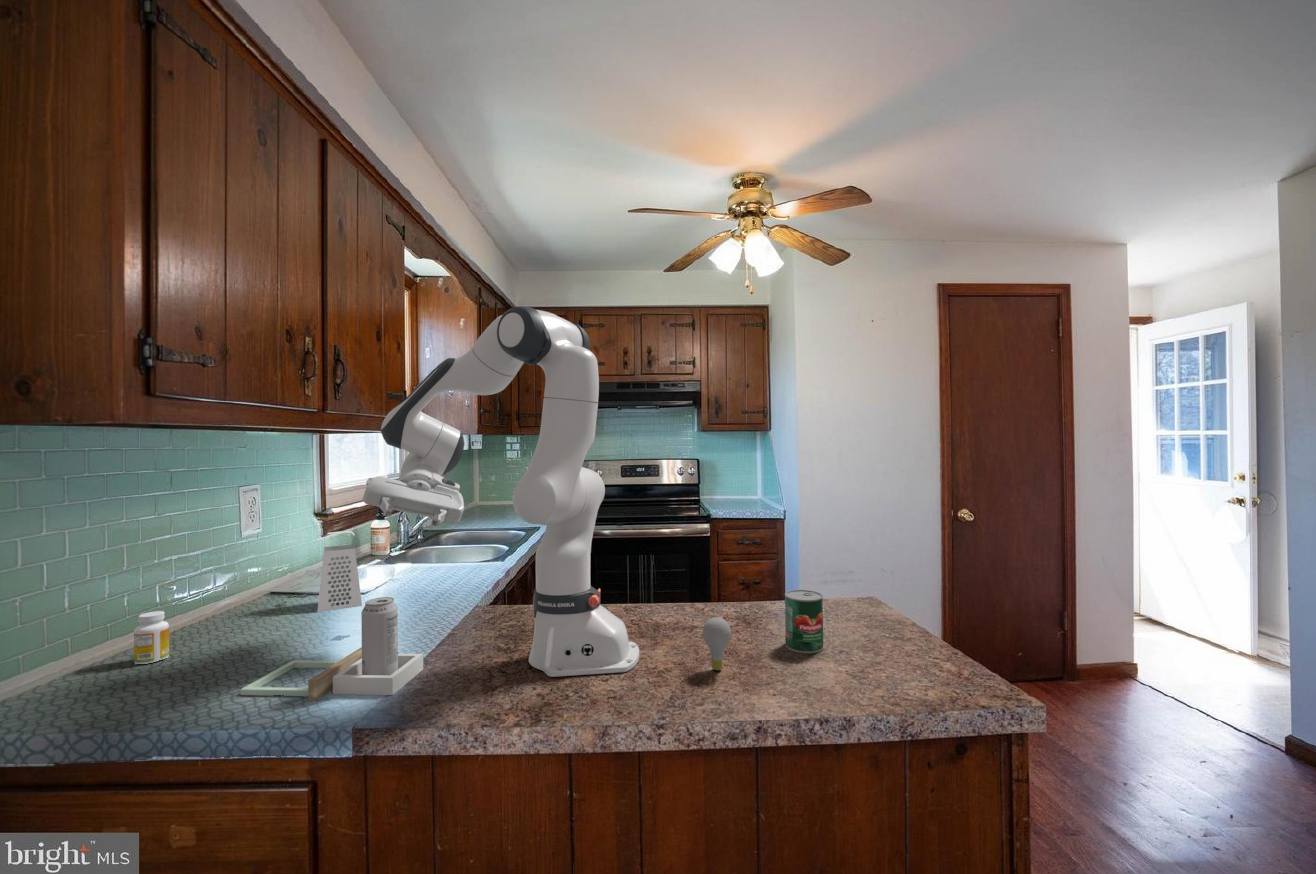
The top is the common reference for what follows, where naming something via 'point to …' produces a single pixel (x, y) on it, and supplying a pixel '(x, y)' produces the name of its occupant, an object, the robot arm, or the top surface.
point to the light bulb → (716, 639)
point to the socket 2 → (377, 677)
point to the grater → (339, 577)
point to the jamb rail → (330, 676)
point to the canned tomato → (804, 621)
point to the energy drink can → (379, 637)
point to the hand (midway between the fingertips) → (412, 518)
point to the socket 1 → (270, 691)
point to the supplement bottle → (151, 638)
